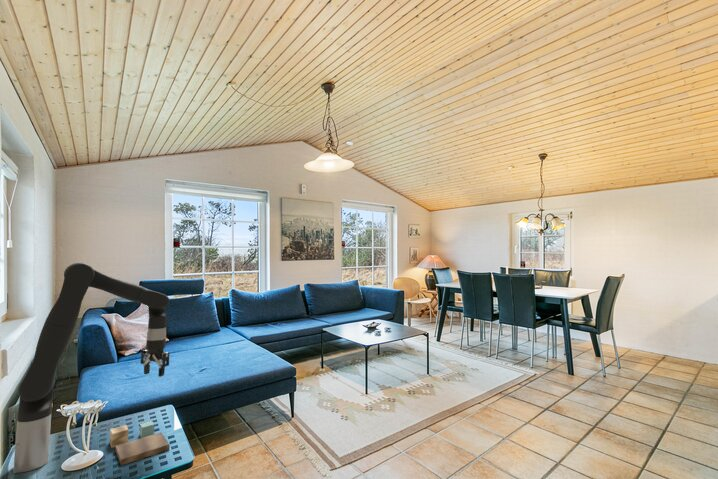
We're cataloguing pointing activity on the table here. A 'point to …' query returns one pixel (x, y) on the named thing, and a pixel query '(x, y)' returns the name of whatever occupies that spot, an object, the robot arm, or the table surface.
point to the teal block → (146, 429)
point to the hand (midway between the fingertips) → (153, 375)
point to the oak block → (118, 435)
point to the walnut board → (141, 448)
